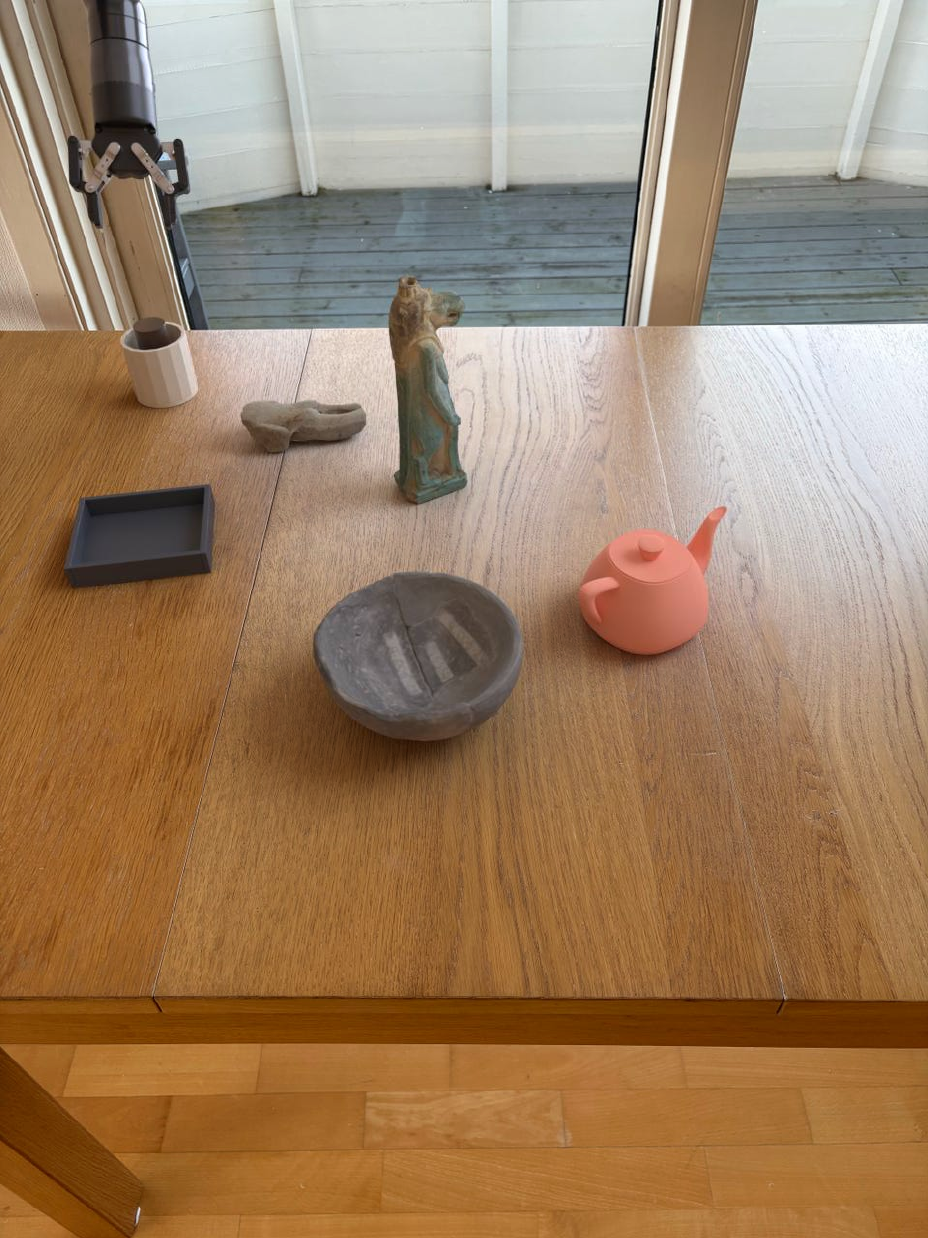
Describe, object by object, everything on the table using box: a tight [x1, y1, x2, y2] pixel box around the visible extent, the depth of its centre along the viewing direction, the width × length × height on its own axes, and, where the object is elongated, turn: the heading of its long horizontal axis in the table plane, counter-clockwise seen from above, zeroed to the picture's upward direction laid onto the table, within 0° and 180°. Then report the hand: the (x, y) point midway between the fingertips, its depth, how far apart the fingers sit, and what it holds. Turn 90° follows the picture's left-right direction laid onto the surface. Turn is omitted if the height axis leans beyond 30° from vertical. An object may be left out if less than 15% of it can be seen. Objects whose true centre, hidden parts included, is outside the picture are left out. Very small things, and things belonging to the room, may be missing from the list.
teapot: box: [577, 505, 728, 656], centre depth 90 cm, size 12×18×10 cm
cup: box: [119, 321, 199, 409], centre depth 123 cm, size 8×8×8 cm
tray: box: [63, 483, 216, 589], centre depth 102 cm, size 14×12×3 cm
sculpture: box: [240, 399, 367, 453], centre depth 116 cm, size 7×5×15 cm
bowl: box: [312, 571, 524, 742], centre depth 83 cm, size 18×18×8 cm
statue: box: [388, 275, 468, 505], centre depth 101 cm, size 7×8×25 cm
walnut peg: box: [132, 316, 171, 350], centre depth 122 cm, size 4×4×9 cm
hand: (134, 227), depth 120 cm, fingers open, 8 cm apart
